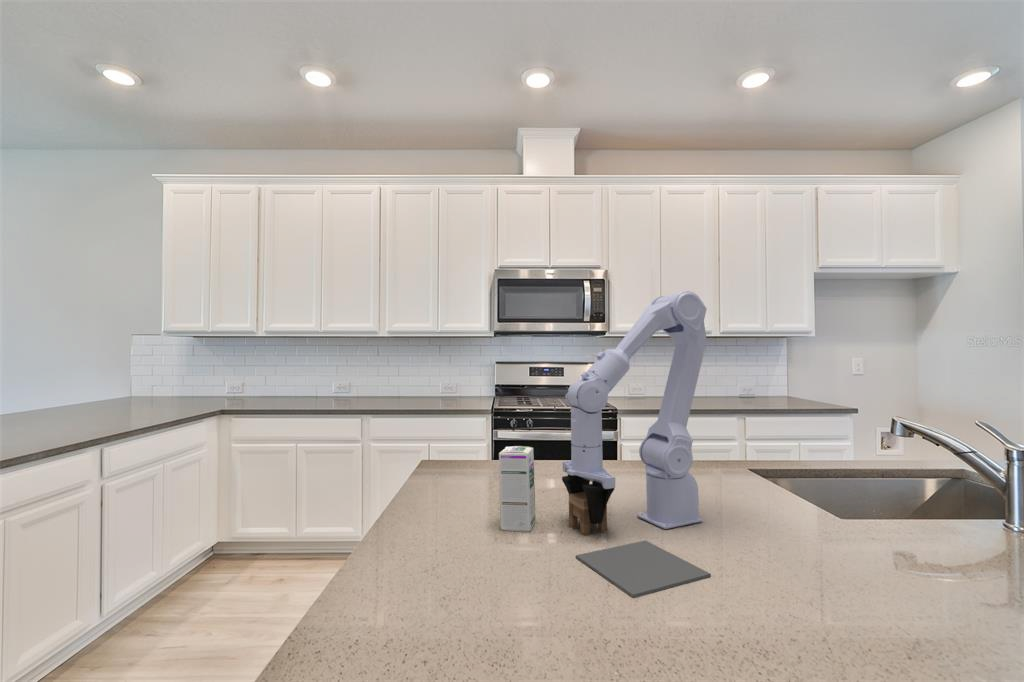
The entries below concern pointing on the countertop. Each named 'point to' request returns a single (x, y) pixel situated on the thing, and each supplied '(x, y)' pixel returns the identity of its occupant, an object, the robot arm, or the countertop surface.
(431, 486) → the countertop surface
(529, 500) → the syrup box
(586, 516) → the notched brown block
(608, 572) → the mat
